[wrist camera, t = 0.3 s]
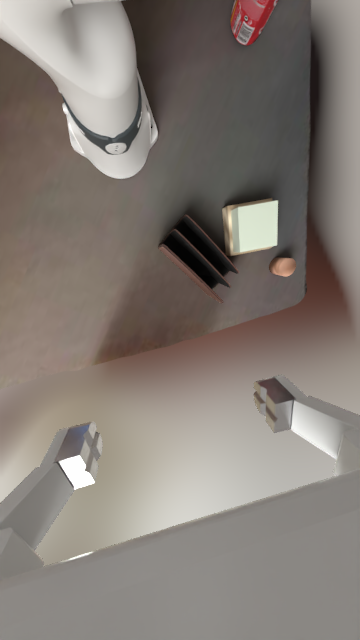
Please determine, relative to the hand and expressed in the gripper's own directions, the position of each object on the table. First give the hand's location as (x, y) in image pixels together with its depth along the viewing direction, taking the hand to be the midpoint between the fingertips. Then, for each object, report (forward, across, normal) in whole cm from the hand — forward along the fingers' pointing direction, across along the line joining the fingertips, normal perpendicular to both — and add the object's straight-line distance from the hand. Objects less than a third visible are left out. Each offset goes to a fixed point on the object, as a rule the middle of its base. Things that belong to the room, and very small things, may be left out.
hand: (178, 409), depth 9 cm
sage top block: (+44, -28, -8) cm, 52 cm away
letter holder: (+48, -13, -3) cm, 49 cm away
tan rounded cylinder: (+47, -38, +3) cm, 61 cm away
